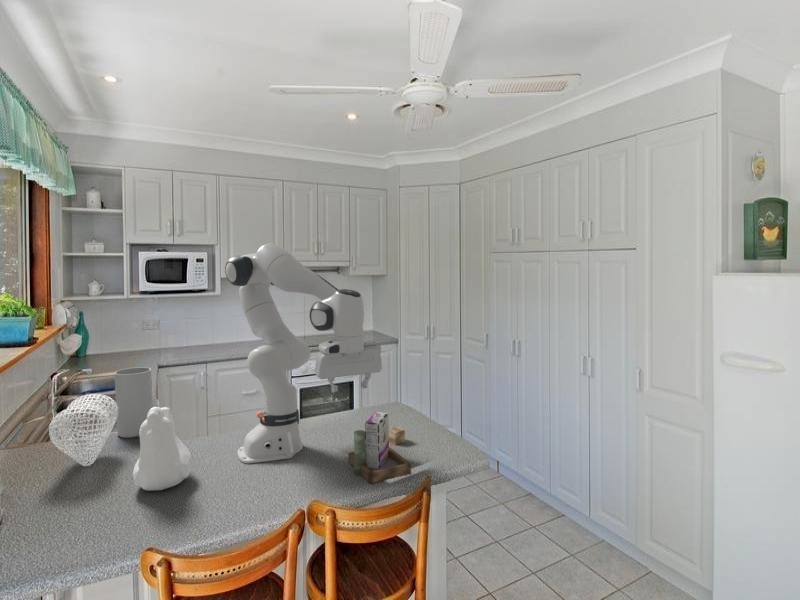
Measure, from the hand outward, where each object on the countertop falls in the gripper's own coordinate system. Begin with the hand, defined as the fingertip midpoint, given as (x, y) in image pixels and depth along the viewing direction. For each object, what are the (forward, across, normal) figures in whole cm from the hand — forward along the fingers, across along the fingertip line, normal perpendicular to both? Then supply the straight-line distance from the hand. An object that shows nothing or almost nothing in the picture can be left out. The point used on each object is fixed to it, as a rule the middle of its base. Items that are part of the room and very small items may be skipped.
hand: (349, 389), depth 137 cm
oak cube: (+27, -25, -18) cm, 42 cm away
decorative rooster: (+30, +49, -29) cm, 64 cm away
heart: (+30, +72, -53) cm, 94 cm away
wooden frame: (+29, -12, -5) cm, 32 cm away
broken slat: (+29, -21, -18) cm, 40 cm away
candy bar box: (+29, -12, -7) cm, 32 cm away
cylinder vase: (+30, +60, -80) cm, 104 cm away
